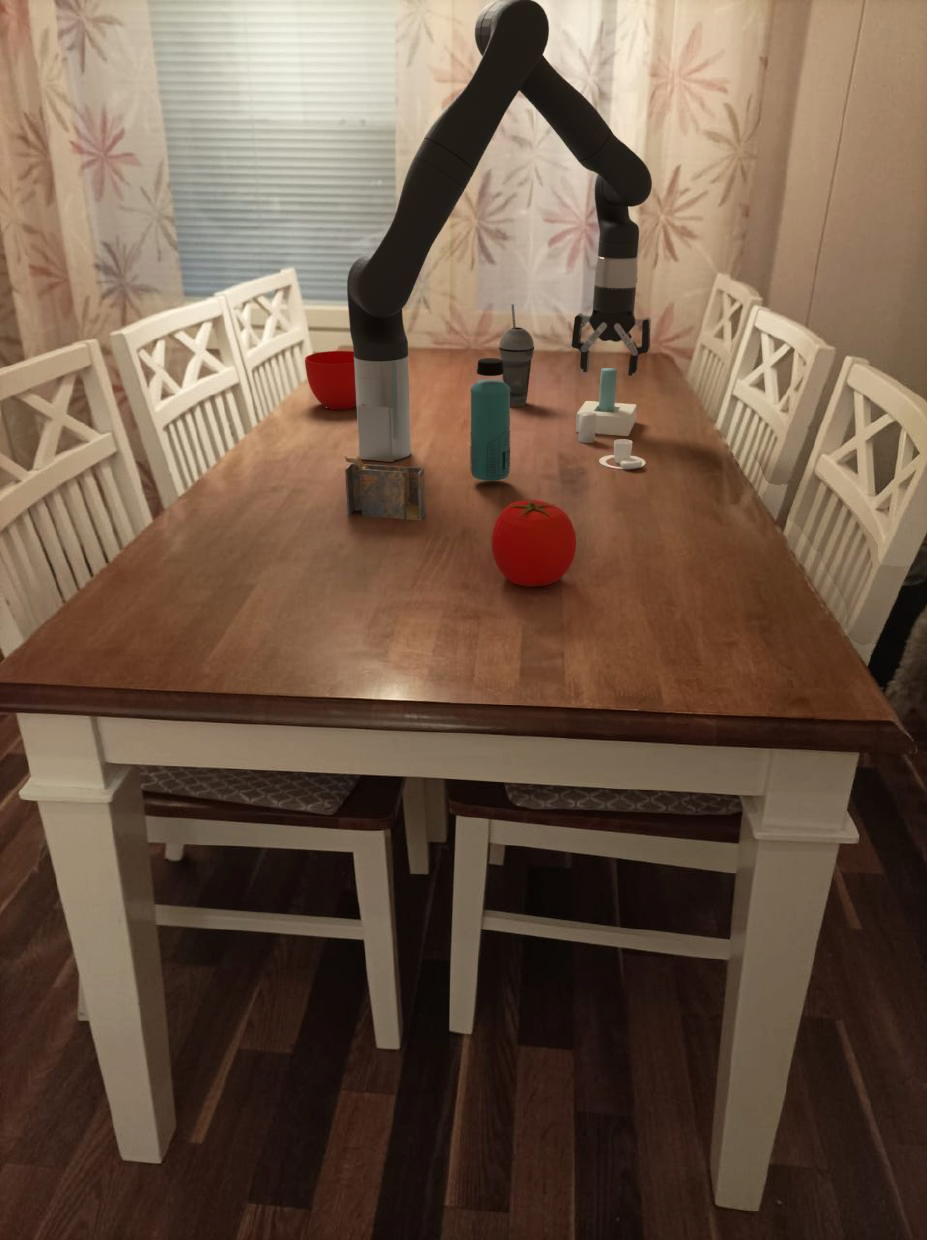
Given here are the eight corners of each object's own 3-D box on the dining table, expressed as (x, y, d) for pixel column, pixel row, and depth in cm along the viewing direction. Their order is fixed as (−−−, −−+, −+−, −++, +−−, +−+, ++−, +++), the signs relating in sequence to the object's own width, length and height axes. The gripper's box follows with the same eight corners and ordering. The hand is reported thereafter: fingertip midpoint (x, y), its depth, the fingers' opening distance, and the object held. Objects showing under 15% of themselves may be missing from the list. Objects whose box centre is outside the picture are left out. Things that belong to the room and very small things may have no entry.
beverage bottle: (506, 491, 153) (508, 364, 144) (465, 488, 155) (465, 362, 145) (512, 478, 159) (515, 355, 150) (473, 475, 160) (473, 353, 151)
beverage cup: (519, 410, 197) (522, 309, 188) (491, 404, 201) (492, 305, 192) (539, 403, 202) (542, 304, 193) (510, 397, 206) (512, 300, 197)
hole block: (628, 436, 180) (629, 417, 179) (575, 431, 183) (576, 413, 181) (635, 422, 189) (636, 404, 187) (584, 418, 191) (585, 400, 190)
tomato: (522, 557, 130) (524, 481, 125) (588, 578, 124) (593, 499, 119) (473, 583, 123) (473, 503, 118) (541, 606, 117) (544, 523, 112)
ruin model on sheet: (347, 518, 144) (343, 456, 140) (353, 511, 147) (349, 450, 142) (420, 524, 142) (418, 460, 138) (425, 516, 145) (423, 454, 140)
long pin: (611, 429, 184) (615, 371, 179) (596, 428, 185) (599, 370, 180) (614, 425, 187) (618, 368, 182) (598, 424, 188) (602, 367, 183)
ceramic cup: (386, 414, 195) (384, 364, 190) (303, 414, 195) (299, 364, 190) (392, 398, 206) (390, 350, 201) (313, 397, 206) (310, 350, 202)
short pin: (593, 443, 176) (594, 416, 174) (577, 442, 177) (578, 415, 175) (595, 439, 179) (597, 412, 176) (580, 437, 180) (581, 411, 177)
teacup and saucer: (644, 474, 162) (646, 451, 160) (596, 471, 163) (598, 448, 161) (646, 458, 169) (648, 436, 168) (601, 456, 171) (602, 433, 169)
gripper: (572, 284, 172) (567, 374, 180) (652, 288, 169) (643, 380, 176) (580, 278, 179) (574, 366, 186) (657, 282, 175) (648, 372, 183)
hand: (608, 373), depth 181 cm, fingers open, 8 cm apart
